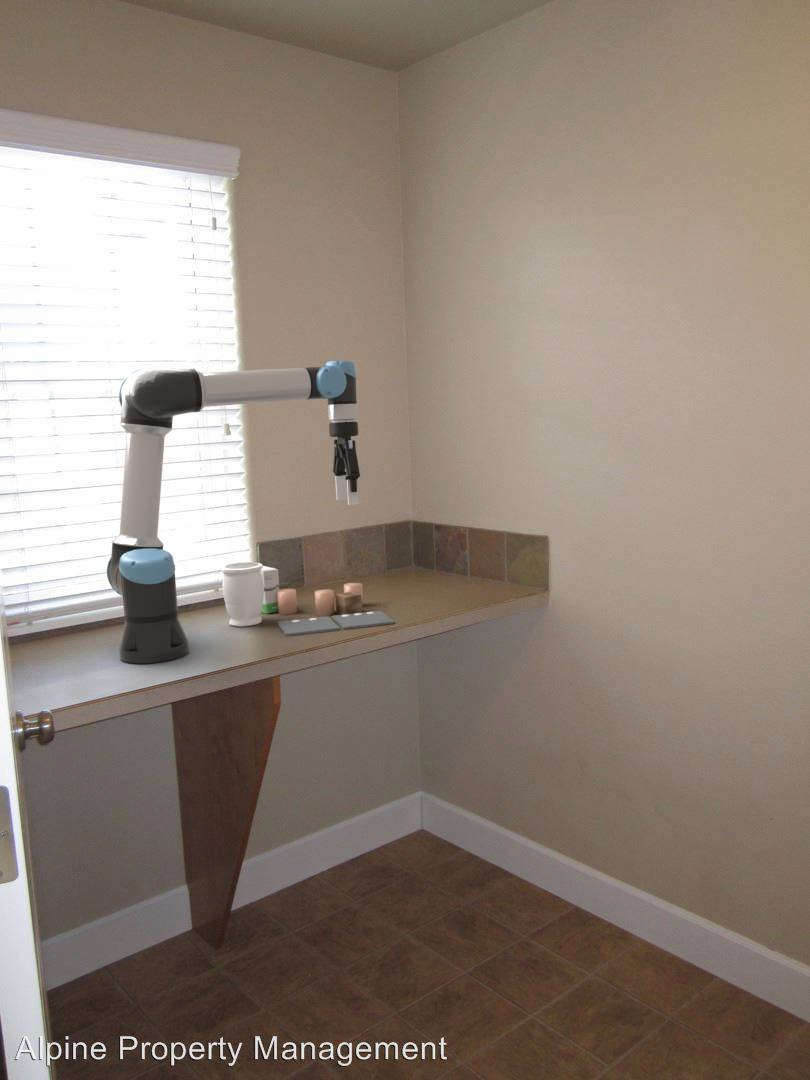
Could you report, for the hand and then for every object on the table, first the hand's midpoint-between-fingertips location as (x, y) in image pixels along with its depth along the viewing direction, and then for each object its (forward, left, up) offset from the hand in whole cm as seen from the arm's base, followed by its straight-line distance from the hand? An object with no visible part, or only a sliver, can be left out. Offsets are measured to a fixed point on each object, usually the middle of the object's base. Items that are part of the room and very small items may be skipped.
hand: (347, 502), depth 234 cm
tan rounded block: (-17, +4, -29) cm, 34 cm away
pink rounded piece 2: (+1, +3, -29) cm, 29 cm away
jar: (-29, -3, -29) cm, 41 cm away
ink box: (-22, +9, -29) cm, 38 cm away
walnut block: (-2, -4, -29) cm, 29 cm away
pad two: (-15, -15, -29) cm, 35 cm away
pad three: (-1, -15, -29) cm, 32 cm away
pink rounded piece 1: (-8, -2, -29) cm, 30 cm away
